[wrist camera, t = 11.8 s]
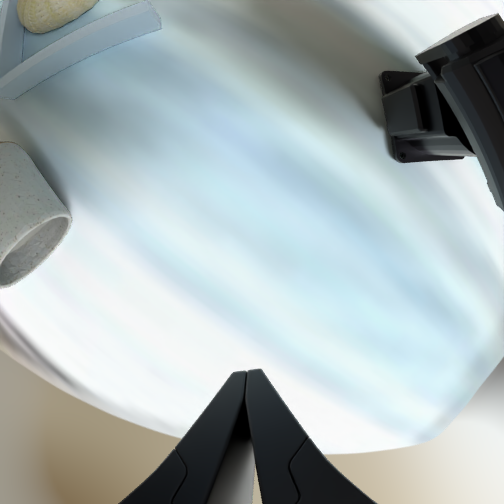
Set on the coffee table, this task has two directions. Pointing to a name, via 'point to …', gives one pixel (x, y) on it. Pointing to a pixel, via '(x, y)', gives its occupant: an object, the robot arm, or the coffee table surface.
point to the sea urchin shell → (50, 13)
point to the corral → (64, 44)
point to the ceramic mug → (26, 216)
